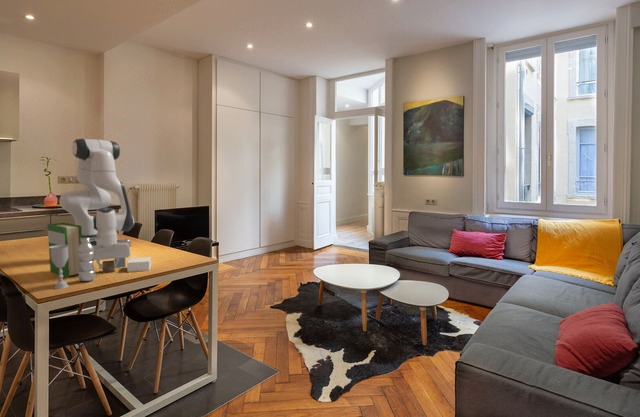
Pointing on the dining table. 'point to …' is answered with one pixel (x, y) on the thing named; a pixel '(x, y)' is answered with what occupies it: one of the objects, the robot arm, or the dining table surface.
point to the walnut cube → (108, 266)
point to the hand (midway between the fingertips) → (108, 267)
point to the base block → (139, 264)
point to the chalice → (60, 262)
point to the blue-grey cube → (120, 263)
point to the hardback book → (65, 236)
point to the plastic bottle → (86, 260)
